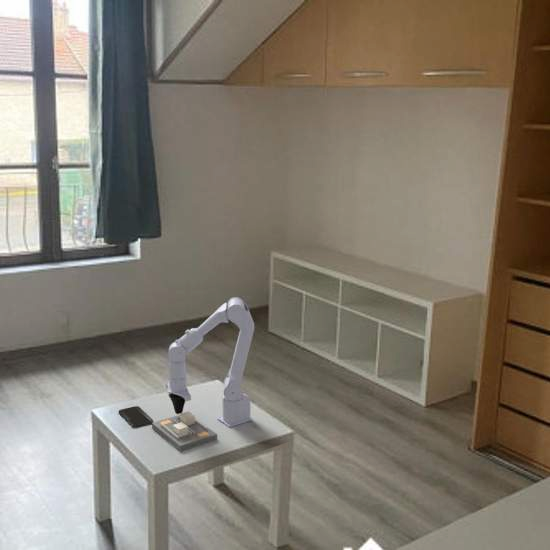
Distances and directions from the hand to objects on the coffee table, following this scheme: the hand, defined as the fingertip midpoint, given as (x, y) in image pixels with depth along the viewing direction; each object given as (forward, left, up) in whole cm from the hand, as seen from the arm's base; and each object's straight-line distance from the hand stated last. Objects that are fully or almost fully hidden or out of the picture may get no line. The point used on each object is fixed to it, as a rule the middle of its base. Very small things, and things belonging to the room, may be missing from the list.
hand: (178, 412), depth 254 cm
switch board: (+3, +9, -3) cm, 10 cm away
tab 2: (+6, +12, -1) cm, 14 cm away
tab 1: (0, +6, -1) cm, 6 cm away
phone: (+11, -12, -4) cm, 17 cm away
